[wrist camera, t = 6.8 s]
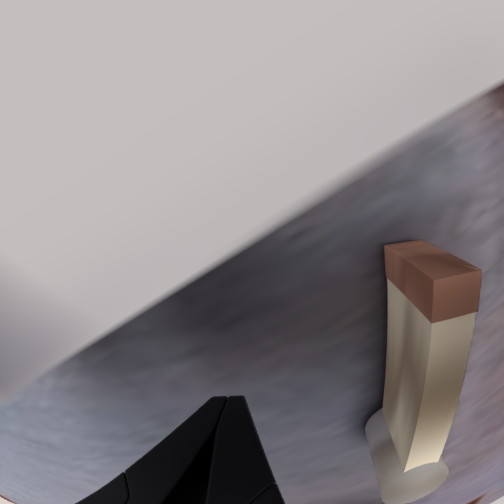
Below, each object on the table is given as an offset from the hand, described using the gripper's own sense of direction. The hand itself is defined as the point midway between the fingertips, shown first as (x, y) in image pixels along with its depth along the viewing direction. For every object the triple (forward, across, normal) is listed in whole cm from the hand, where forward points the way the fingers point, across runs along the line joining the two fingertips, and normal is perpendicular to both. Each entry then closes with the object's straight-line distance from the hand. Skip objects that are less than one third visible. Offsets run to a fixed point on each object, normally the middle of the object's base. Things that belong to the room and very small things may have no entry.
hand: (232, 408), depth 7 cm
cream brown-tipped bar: (+5, -6, +3) cm, 8 cm away
